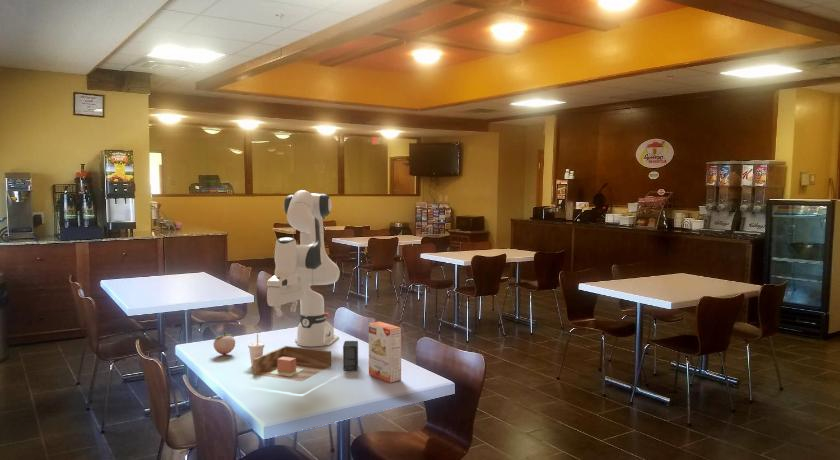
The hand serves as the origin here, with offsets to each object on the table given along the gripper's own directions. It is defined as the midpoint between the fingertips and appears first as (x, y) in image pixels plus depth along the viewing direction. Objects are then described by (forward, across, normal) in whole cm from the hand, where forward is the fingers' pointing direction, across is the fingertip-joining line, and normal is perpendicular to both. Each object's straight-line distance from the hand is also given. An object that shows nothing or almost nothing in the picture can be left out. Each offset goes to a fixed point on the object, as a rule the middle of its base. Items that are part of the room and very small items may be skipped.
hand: (286, 313), depth 235 cm
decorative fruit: (+24, -12, -40) cm, 48 cm away
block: (+23, 0, 0) cm, 23 cm away
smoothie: (+24, -2, -16) cm, 29 cm away
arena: (+24, -3, +1) cm, 24 cm away
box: (+24, -16, +20) cm, 35 cm away
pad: (+23, 0, 0) cm, 23 cm away
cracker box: (+24, -10, +38) cm, 46 cm away
